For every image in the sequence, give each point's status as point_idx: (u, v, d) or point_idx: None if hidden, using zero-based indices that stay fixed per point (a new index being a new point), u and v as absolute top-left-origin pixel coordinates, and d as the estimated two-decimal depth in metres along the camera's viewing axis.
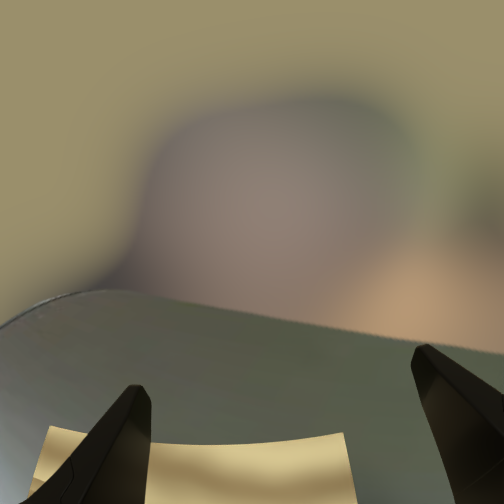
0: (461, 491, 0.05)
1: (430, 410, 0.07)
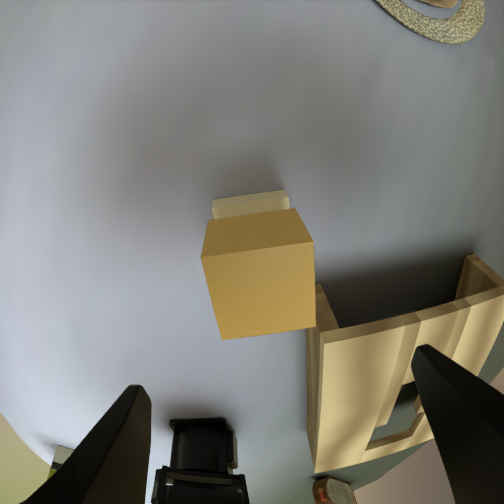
0: (461, 491, 0.05)
1: (430, 410, 0.07)
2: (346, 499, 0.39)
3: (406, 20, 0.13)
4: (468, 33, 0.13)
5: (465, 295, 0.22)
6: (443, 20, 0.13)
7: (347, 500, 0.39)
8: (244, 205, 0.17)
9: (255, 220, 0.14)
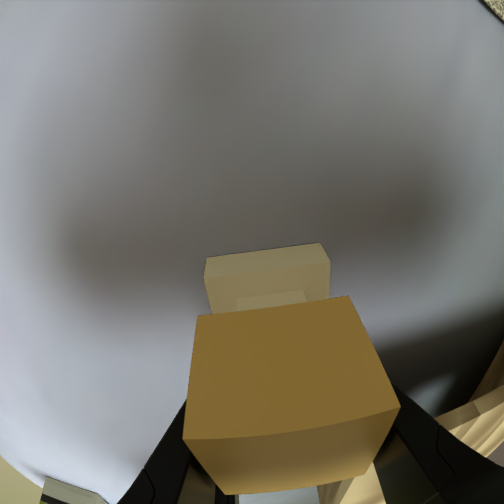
0: None
1: None
2: None
3: (493, 2, 0.06)
4: None
5: None
6: None
7: None
8: (257, 274, 0.10)
9: (282, 328, 0.08)
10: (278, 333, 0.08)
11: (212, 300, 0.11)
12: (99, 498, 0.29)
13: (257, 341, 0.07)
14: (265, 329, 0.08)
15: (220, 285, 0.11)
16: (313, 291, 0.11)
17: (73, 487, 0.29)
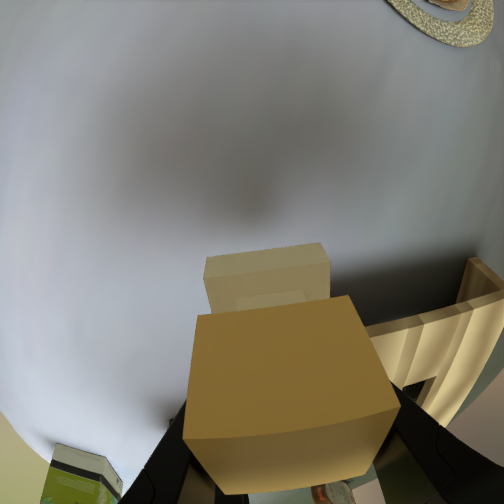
0: None
1: None
2: (345, 498, 0.40)
3: (418, 22, 0.12)
4: (477, 37, 0.12)
5: (467, 297, 0.22)
6: (454, 23, 0.12)
7: (346, 499, 0.39)
8: (257, 274, 0.10)
9: (282, 328, 0.08)
10: (278, 333, 0.08)
11: (212, 300, 0.11)
12: (106, 462, 0.36)
13: (257, 341, 0.07)
14: (265, 329, 0.08)
15: (220, 285, 0.11)
16: (313, 291, 0.11)
17: (82, 452, 0.35)
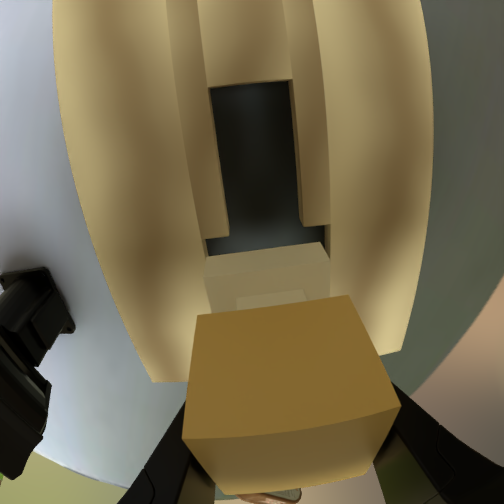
0: None
1: None
2: None
3: None
4: None
5: None
6: None
7: None
8: (257, 274, 0.10)
9: (282, 327, 0.08)
10: (278, 332, 0.07)
11: (212, 299, 0.11)
12: None
13: (257, 340, 0.07)
14: (265, 328, 0.08)
15: (220, 284, 0.10)
16: (313, 290, 0.11)
17: None
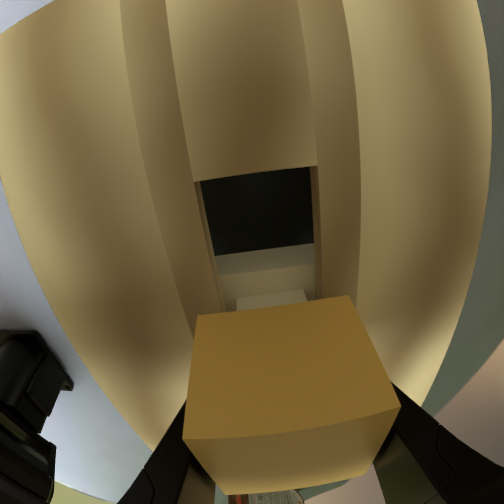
0: None
1: None
2: None
3: None
4: None
5: None
6: None
7: None
8: (257, 274, 0.10)
9: (282, 328, 0.08)
10: (278, 332, 0.08)
11: None
12: None
13: (257, 340, 0.07)
14: (265, 328, 0.08)
15: None
16: (313, 291, 0.11)
17: None
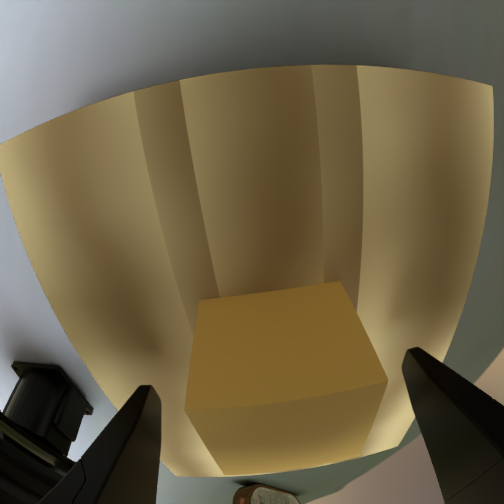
0: (452, 496, 0.05)
1: (420, 414, 0.07)
2: None
3: None
4: None
5: None
6: None
7: None
8: None
9: (278, 310, 0.08)
10: (274, 314, 0.08)
11: None
12: None
13: (254, 321, 0.08)
14: (262, 311, 0.08)
15: None
16: None
17: None
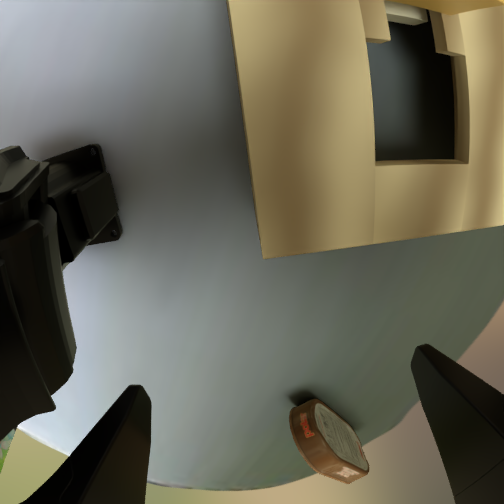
0: (461, 490, 0.05)
1: (430, 410, 0.07)
2: (350, 447, 0.27)
3: None
4: None
5: None
6: None
7: (352, 450, 0.27)
8: None
9: None
10: None
11: None
12: None
13: None
14: None
15: None
16: None
17: None
